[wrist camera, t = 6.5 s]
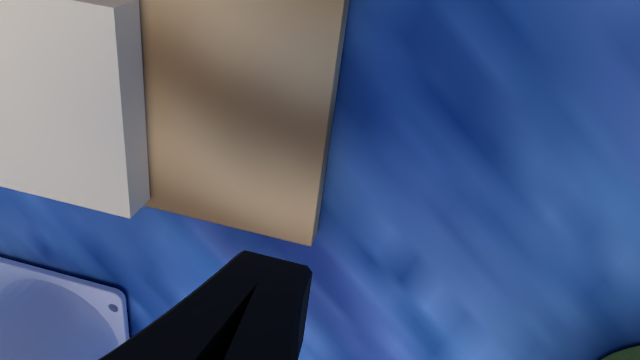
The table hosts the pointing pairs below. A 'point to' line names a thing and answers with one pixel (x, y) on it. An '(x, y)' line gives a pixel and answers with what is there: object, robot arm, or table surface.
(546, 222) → the table surface
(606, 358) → the plant pot
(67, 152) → the tile
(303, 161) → the cork board
